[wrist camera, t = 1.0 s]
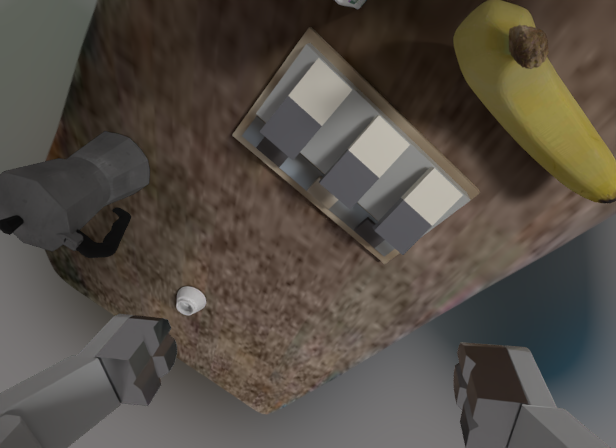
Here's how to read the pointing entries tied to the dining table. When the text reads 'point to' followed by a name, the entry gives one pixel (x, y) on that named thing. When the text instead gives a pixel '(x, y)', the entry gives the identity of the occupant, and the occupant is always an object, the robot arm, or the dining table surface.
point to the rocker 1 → (306, 109)
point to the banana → (532, 98)
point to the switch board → (308, 175)
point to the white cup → (190, 300)
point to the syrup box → (351, 3)
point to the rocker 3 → (417, 210)
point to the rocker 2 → (364, 162)
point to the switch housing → (346, 129)
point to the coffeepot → (73, 195)
